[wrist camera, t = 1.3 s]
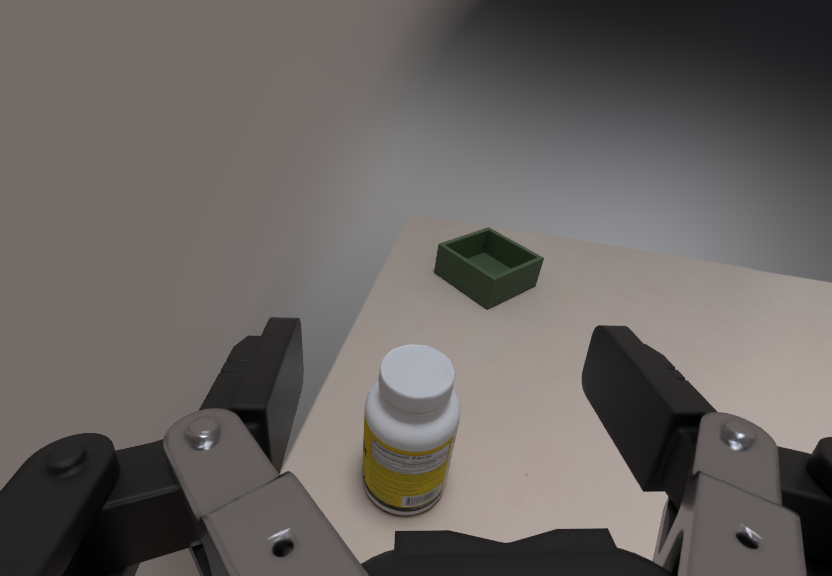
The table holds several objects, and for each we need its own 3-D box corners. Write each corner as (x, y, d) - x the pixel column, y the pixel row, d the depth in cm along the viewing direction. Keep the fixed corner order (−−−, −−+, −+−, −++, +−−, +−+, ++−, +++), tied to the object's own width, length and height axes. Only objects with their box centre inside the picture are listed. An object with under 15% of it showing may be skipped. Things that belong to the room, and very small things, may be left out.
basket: (487, 309, 46) (494, 279, 44) (434, 272, 50) (438, 243, 48) (535, 286, 50) (544, 258, 48) (482, 253, 55) (488, 227, 53)
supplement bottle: (385, 430, 32) (396, 323, 27) (456, 463, 31) (483, 356, 25) (344, 493, 28) (347, 381, 23) (424, 535, 27) (448, 425, 21)
